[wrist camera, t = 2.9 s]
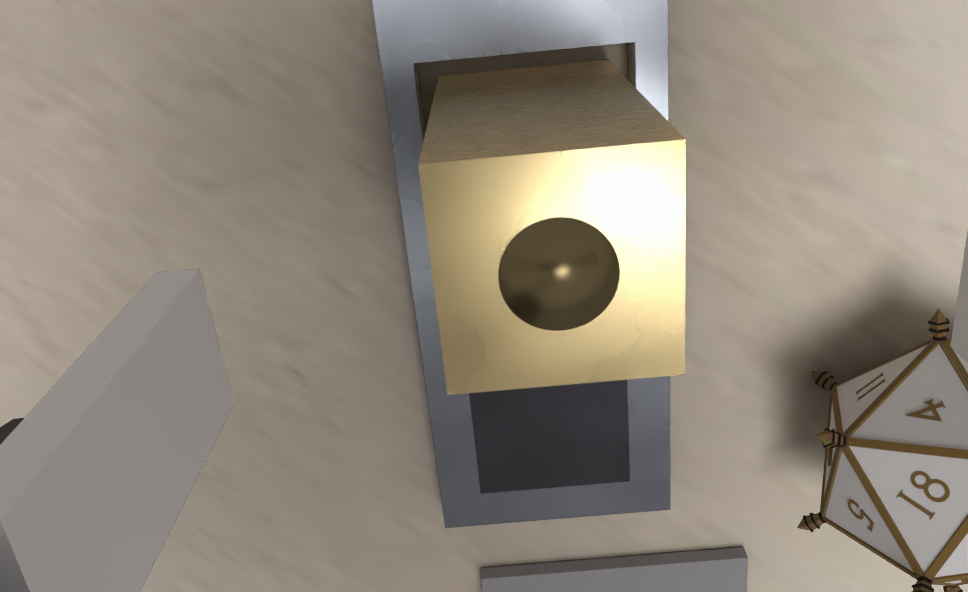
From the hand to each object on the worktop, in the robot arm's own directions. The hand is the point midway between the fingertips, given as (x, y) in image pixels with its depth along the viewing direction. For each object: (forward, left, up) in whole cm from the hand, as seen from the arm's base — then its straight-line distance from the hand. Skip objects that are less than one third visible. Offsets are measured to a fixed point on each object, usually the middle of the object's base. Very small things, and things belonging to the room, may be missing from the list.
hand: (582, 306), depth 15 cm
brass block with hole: (0, 0, -12) cm, 12 cm away
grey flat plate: (0, -4, -12) cm, 13 cm away
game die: (+12, -10, -12) cm, 20 cm away
